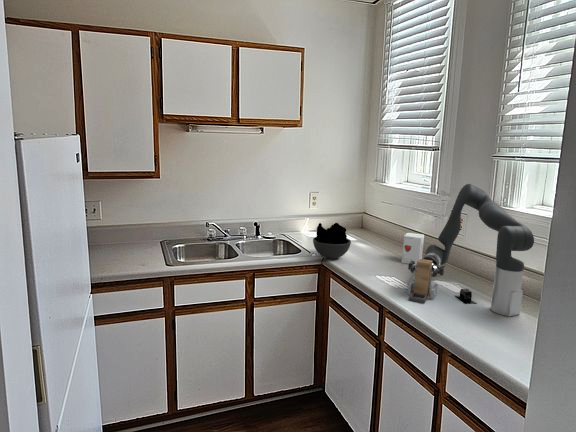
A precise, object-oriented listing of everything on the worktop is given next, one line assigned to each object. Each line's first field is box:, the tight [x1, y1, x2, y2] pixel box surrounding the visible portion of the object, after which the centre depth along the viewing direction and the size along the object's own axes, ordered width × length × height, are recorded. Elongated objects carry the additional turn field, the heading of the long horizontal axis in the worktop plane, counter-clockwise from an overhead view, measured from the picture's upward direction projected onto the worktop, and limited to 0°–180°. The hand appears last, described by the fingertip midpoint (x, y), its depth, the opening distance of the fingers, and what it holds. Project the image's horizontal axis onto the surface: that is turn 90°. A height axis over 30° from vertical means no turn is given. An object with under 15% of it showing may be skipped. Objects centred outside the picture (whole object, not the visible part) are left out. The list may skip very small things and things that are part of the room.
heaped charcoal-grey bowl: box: [312, 222, 352, 260], centre depth 224 cm, size 20×20×19 cm
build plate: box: [453, 288, 478, 305], centre depth 173 cm, size 12×7×5 cm, turn 6°
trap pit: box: [408, 293, 428, 305], centre depth 171 cm, size 6×6×2 cm
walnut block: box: [414, 258, 432, 295], centre depth 175 cm, size 5×5×14 cm
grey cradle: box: [406, 279, 439, 301], centre depth 177 cm, size 9×10×4 cm
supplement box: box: [401, 232, 425, 265], centre depth 222 cm, size 9×9×15 cm
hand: (422, 272), depth 173 cm, fingers open, 8 cm apart
